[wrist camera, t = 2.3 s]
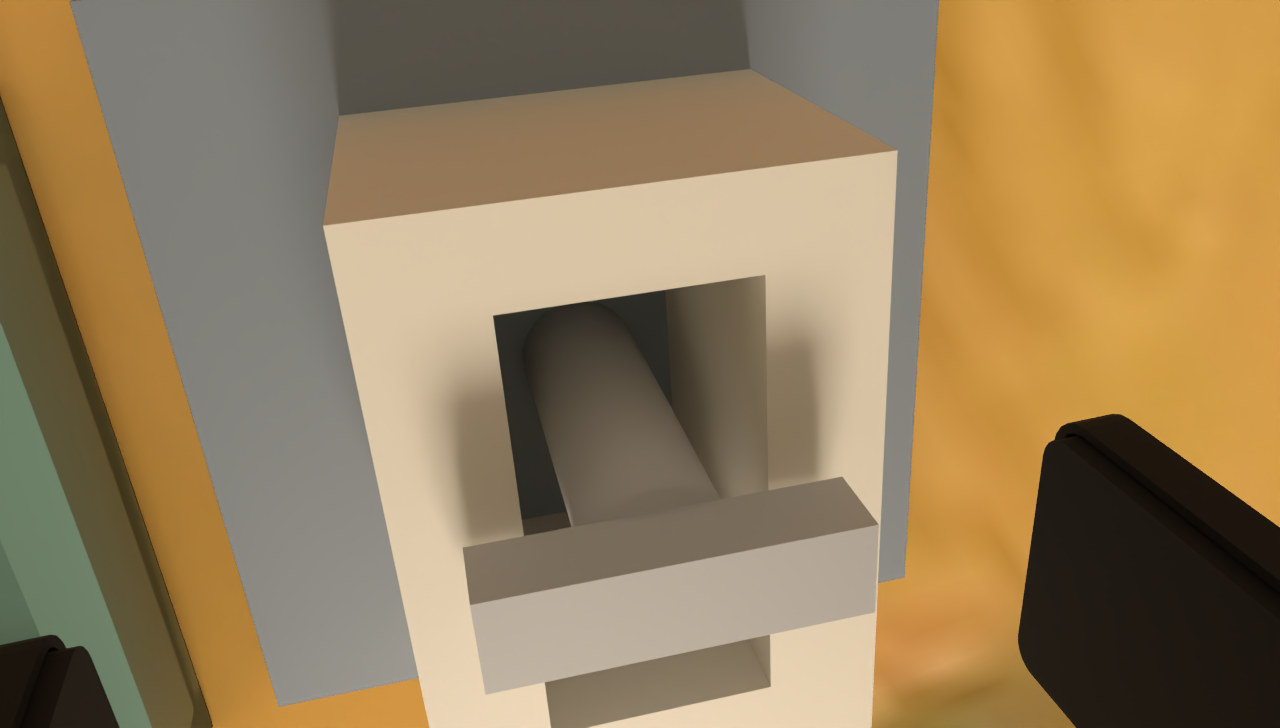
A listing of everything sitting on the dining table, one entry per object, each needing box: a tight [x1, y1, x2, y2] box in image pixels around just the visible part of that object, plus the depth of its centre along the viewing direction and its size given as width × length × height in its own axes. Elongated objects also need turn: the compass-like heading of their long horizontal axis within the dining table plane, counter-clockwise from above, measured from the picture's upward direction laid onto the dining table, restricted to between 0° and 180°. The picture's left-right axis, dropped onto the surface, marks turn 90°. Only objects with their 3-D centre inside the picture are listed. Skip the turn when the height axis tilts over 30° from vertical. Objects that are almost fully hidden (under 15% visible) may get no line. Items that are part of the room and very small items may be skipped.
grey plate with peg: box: [69, 0, 939, 707], centre depth 14 cm, size 12×12×8 cm
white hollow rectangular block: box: [323, 69, 898, 728], centre depth 15 cm, size 8×6×5 cm
